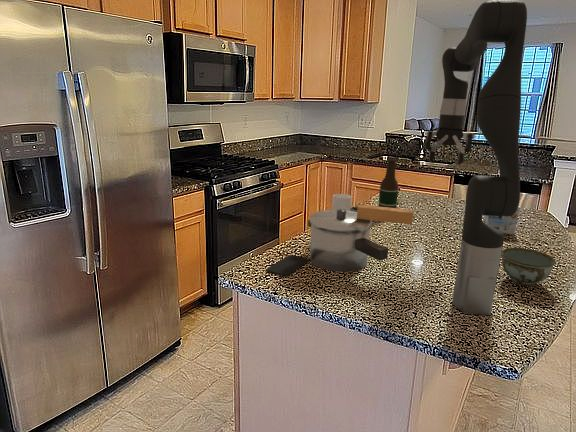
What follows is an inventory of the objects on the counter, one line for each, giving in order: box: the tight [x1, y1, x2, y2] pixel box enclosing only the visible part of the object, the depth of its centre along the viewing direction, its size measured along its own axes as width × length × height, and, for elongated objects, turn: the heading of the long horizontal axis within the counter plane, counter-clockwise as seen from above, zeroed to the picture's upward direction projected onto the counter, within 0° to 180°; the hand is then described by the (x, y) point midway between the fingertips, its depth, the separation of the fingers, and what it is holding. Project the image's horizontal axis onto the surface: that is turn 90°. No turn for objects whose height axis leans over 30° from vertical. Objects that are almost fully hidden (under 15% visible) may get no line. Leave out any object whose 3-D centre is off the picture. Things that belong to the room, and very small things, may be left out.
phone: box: [266, 254, 310, 277], centre depth 130 cm, size 7×1×15 cm
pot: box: [307, 219, 389, 273], centre depth 131 cm, size 32×18×12 cm, turn 33°
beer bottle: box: [377, 158, 399, 208], centre depth 185 cm, size 8×8×24 cm
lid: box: [309, 204, 415, 233], centre depth 129 cm, size 30×19×6 cm, turn 73°
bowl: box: [501, 247, 556, 287], centre depth 122 cm, size 14×13×8 cm
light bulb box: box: [483, 206, 520, 235], centre depth 167 cm, size 11×7×11 cm, turn 76°
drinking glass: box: [331, 193, 352, 211], centre depth 156 cm, size 7×7×15 cm
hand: (445, 163), depth 143 cm, fingers open, 8 cm apart
